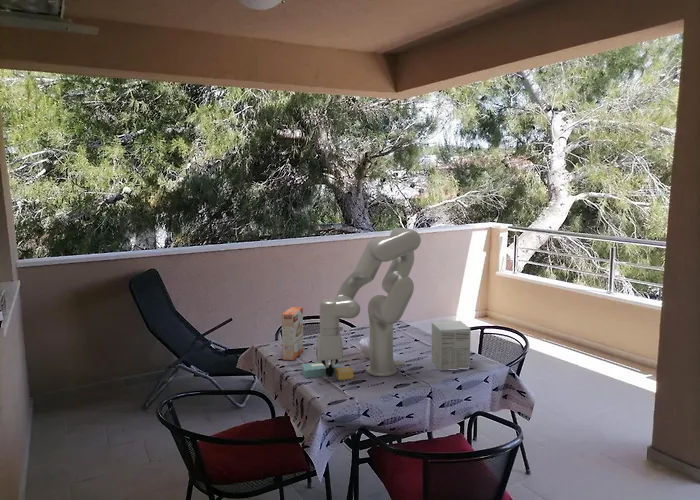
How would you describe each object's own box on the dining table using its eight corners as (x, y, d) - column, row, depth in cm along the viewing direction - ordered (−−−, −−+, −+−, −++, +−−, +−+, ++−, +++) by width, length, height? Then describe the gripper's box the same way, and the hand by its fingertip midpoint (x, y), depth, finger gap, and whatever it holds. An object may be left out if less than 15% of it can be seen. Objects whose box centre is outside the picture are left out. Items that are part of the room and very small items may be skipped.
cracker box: (295, 361, 235) (294, 314, 232) (281, 360, 236) (280, 313, 234) (304, 351, 249) (303, 306, 246) (291, 350, 250) (290, 306, 247)
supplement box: (470, 370, 222) (471, 328, 219) (439, 371, 220) (439, 330, 218) (460, 359, 235) (460, 320, 233) (430, 361, 233) (431, 321, 231)
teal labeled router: (335, 368, 226) (334, 360, 225) (339, 374, 218) (339, 367, 218) (301, 371, 222) (301, 364, 222) (305, 378, 215) (304, 370, 214)
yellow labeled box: (350, 374, 218) (350, 366, 218) (353, 378, 214) (353, 371, 213) (335, 375, 217) (335, 368, 216) (338, 380, 212) (338, 372, 212)
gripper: (345, 327, 217) (345, 371, 219) (309, 329, 213) (309, 374, 215) (350, 332, 209) (350, 377, 212) (312, 334, 206) (312, 381, 208)
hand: (329, 375), depth 214 cm, fingers closed
